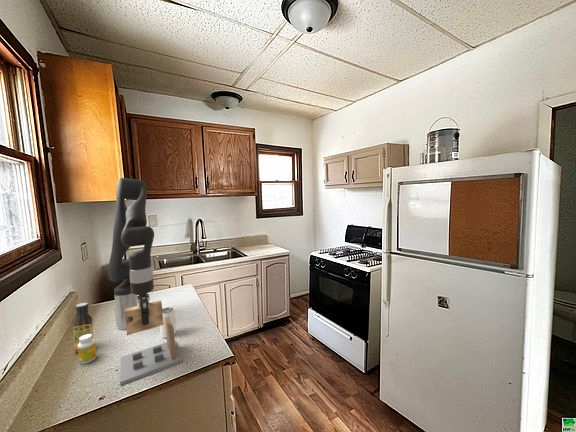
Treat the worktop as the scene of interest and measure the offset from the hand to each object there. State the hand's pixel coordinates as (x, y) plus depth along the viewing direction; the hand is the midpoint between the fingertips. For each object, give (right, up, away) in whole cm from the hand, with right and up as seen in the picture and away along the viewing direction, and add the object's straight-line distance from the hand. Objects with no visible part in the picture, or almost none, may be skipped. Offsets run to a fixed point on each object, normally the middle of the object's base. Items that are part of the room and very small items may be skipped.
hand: (145, 322), depth 94 cm
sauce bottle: (-32, -16, +11) cm, 38 cm away
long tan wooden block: (0, -2, 0) cm, 2 cm away
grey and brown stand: (0, -16, +1) cm, 16 cm away
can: (-1, -15, +20) cm, 25 cm away
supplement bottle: (-25, -17, +4) cm, 31 cm away
